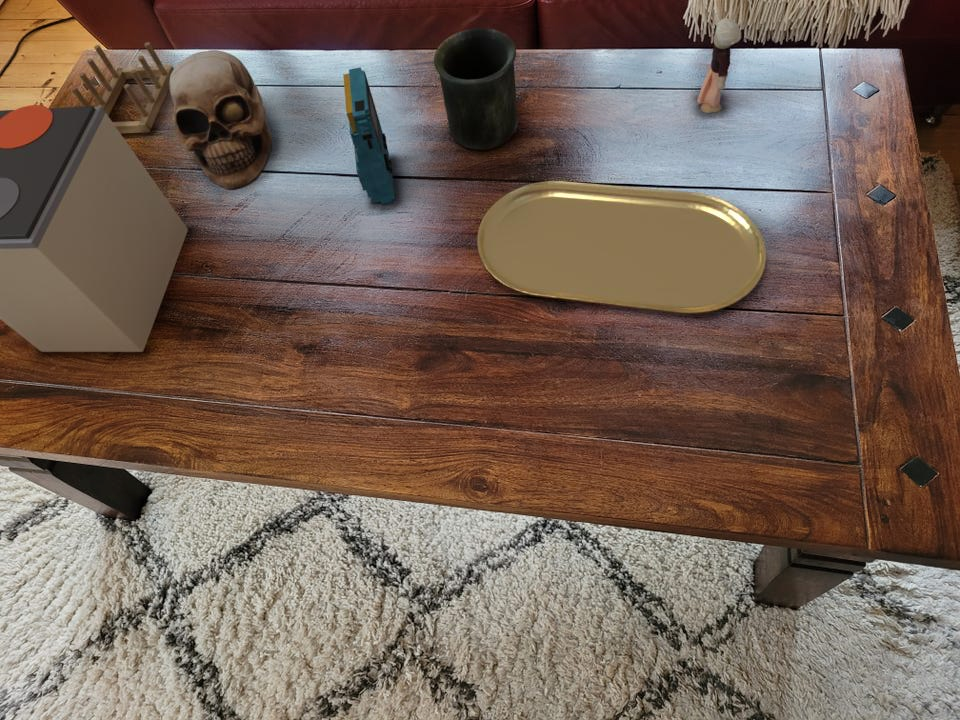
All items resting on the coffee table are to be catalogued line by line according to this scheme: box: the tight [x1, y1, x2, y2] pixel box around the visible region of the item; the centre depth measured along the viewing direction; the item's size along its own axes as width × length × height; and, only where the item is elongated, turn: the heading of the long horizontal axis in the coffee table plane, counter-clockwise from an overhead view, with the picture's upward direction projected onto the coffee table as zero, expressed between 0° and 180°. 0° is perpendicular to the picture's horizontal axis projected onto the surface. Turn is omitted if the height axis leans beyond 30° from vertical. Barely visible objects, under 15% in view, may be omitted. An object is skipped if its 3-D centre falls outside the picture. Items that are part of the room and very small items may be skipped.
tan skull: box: [169, 49, 273, 190], centre depth 99 cm, size 16×17×13 cm
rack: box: [70, 41, 175, 135], centre depth 109 cm, size 10×14×7 cm
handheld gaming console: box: [342, 66, 396, 206], centre depth 90 cm, size 10×4×15 cm, turn 9°
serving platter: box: [476, 180, 767, 315], centre depth 85 cm, size 19×35×2 cm, turn 77°
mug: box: [433, 27, 519, 151], centre depth 95 cm, size 11×15×12 cm
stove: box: [0, 104, 189, 353], centre depth 82 cm, size 14×20×22 cm
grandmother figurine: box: [696, 17, 742, 114], centre depth 91 cm, size 8×4×13 cm, turn 3°
